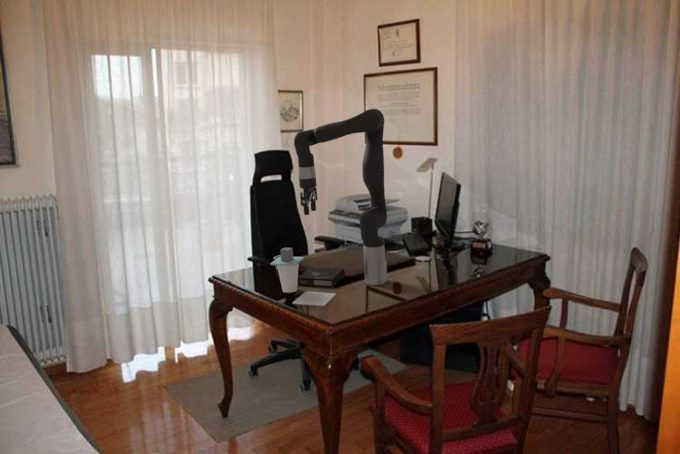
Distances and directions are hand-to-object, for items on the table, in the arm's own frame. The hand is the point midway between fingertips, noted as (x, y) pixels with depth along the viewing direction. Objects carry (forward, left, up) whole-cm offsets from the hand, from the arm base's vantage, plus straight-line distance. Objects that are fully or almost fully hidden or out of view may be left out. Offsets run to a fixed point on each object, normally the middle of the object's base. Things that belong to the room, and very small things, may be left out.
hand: (310, 212), depth 254 cm
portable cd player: (-4, +1, -32) cm, 32 cm away
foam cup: (+5, +16, -31) cm, 36 cm away
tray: (-10, +24, -31) cm, 41 cm away
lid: (+5, +16, -18) cm, 25 cm away
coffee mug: (+15, -1, -31) cm, 35 cm away
